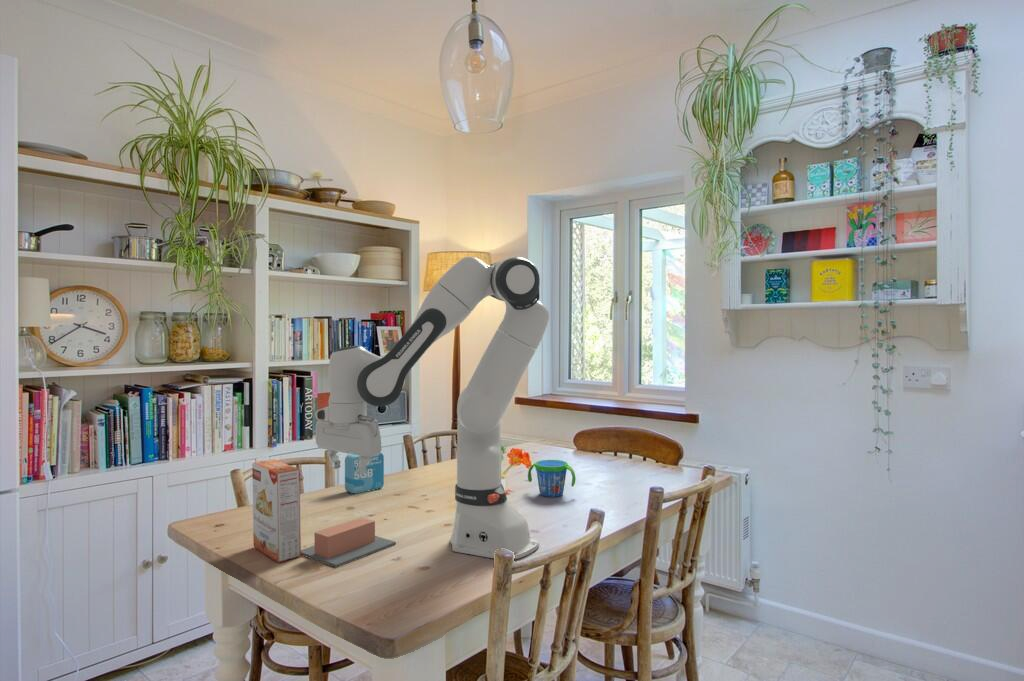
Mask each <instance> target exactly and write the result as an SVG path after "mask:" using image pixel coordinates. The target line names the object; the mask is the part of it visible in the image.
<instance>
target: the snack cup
mask: <svg viewBox="0 0 1024 681" xmlns="http://www.w3.org/2000/svg"><path fill="white" fill-rule="evenodd" d="M533 468H535V471H536V477H537V482H538V483H537V484H538V485H537V486H538V490H539V493H540V495H542V496H543V497H549V498H550V497H551V498H552V497H553V498H555V497H560V496H563V494H564V489H565V484H566V476H567V470H568V471H569V472H570V473H571V477H572V478H571V487H575V484H576V480H577V478H576V474H575V471H574V469H573V468H572V467H571V466H570V465H569V464H568V462H567V461H565V460H560V459H559V460H558V459H542V460H538V461H536V462H535V463H533V464H531V465H530V467H529V469H528V472H527V480H528V482H529V483H531V482H532V481H533V479H532V470H533Z"/></svg>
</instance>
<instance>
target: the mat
mask: <svg viewBox="0 0 1024 681" xmlns="http://www.w3.org/2000/svg"><path fill="white" fill-rule="evenodd" d="M392 545H393V546H395V545H397V542H396V541H394V540H391V539H389V538H388V539H387V538H383V537H380V536H376V535H375V541H374V542H372V543H369V544H366V545H364V546H361V547H358V548H355V549H353V550H350V551H347V552H345V553H342V554H339V555H337V556H334V557H331V558H329V559H328V558H325V557H322V556H319V555H317V554H315V545H311V546H310V547H305V548H304V549H303V548H302V549H301V556H303V555H304V556H303V557H306V556H307V557H306V558H309V557H310V558H309V559H311V558H313V559H312V560H314V559H316V560H315V561H317V560H318V562H320V561H321V563H322V562H324V563H323V564H325V563H327V564H326V565H328V564H329V566H331V565H332V567H334V566H335V567H334V568H339V567H341V566H344V565H345V563H346V564H349V563H351V562H350V561H352V562H354V561H356V560H355V559H357V560H359V559H362V558H364V557H366V555H367V556H369V555H368V554H370V555H372V554H374V553H373V552H375V553H377V552H379V550H380V551H382V550H385V549H387V547H388V548H390V547H392ZM384 548H385V549H384ZM376 551H377V552H376ZM371 553H372V554H371ZM363 556H364V557H363ZM361 557H362V558H361ZM358 558H359V559H358ZM353 560H354V561H353ZM348 562H349V563H348ZM343 564H344V565H343ZM340 565H341V566H340ZM338 566H339V567H338Z"/></svg>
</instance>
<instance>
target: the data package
mask: <svg viewBox="0 0 1024 681" xmlns="http://www.w3.org/2000/svg"><path fill="white" fill-rule="evenodd" d="M360 461H361V460H359V455H354V454H348V455H346V456H345V459H344V490H345V491H346V492H348V493H351V494H353V493H358V494H360V493H359V492H363V493H365V492H364V491H367V492H369V491H368V490H372V491H374V490H373V489H377V488H381V489H382V488H383V487H384V485H385V475H384V474H385V473H384V471H385V468H384V466H385V463H384V461H385V455H384V454H383V453H382V452H381V453H380V454H379V455H377V456H373V457H370V460H369V462H368V464H367V466H366V473H365V474H358V473H357V472H356V471H357V469H356V466H359V464H360ZM377 490H378V489H377Z"/></svg>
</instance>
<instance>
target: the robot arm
mask: <svg viewBox="0 0 1024 681" xmlns="http://www.w3.org/2000/svg"><path fill="white" fill-rule="evenodd" d="M540 279H541V278H540V274H539V271H538V269H537V267H536V265H535V264H534V263H533V262H531V261H530V260H528V259H527V258H525V257H520V256H514V257H507V258H504V259H502V260H499V261H497V262H494V263H492V264H486V263H485V262H484V261H483V260H481V259H479V258H478V257H474V256H465V257H462V258H461V259H460V260H458V261H457V262H456V263H455V264H454V265H452V266H451V267H450V268H449V269H448V270H447V271H445V273H444V274H443V275H442V276H441V277H440V279H438V280H437V281H436V283H435V284H434V285H433V287H432V288H431V289H430V291H429V292H428V293H427V295H426V297H425V298H424V300H423V301H422V303H421V305H420V307H419V310H418V312H417V314H416V315H415V318H414V320H413V322H412V324H410V327H409V328H408V329H407V331H406V332H405V333H404V334H403V335H402V336H401V338H399V340H398V341H397V342H396V343H395V344H394V345H393V347H392V348H391V349H390V350H389V351H388V352H386V354H385V355H384V356H383V357H382V356H379V355H377V354H374V353H373V352H371V351H369V350H367V349H366V348H364V346H362V345H351V346H346V347H342V348H337V349H336V350H334V351H333V352H332V353H331V355H330V358H329V363H328V375H327V377H328V379H327V381H328V382H327V384H328V387H329V393H330V394H329V397H328V406H326V407H322V408H320V409H317V410H315V412H314V417H315V420H316V422H315V423H316V424H315V444H316V446H317V448H318V449H323V450H326V451H327V452H326V453H327V457H328V458H329V461H330V468H331V469H336V470H337V469H339V468H341V460H339V457H338V455H337V454H338V453H345V454H348V455H351V454H354V455H359V460H361V461H360V464H359V466H356V469H357V471H356V472H357V473H358V474H365V473H366V466H367V464H368V462H369V460H370V457H373V456H377V455H379V454H380V453H382V439H381V438H382V437H381V429H380V427H379V422H378V421H377V420H376V419H375V417H374V416H373V415H372V416H371V415H369V416H367V411H368V410H367V409H368V408H367V404H369V405H371V406H374V407H386V406H389V405H392V404H393V403H395V402H396V401H397V399H398V398H399V397H400V395H401V393H402V390H403V388H404V386H405V385H406V384H405V383H406V377H407V376H408V374H409V372H410V371H411V370H412V368H413V367H414V366H415V365H416V364H417V362H418V361H419V360H420V359H421V358H422V356H423V355H424V354H425V353H426V351H427V350H428V349H429V348H430V347H431V346H432V345H433V344H434V343H436V342H437V341H438V340H439V339H441V338H442V337H444V336H446V335H447V334H449V333H450V332H451V331H454V329H456V328H457V327H458V326H460V324H462V323H463V322H464V321H465V320H467V317H468V316H470V314H471V313H472V312H473V311H474V309H475V308H476V307H477V305H478V304H479V303H480V302H482V301H483V299H486V298H487V297H491V298H494V299H496V300H499V301H502V302H505V303H504V304H505V313H504V316H503V319H502V320H501V323H500V324H499V325H498V328H497V330H496V331H495V333H494V334H493V337H492V339H491V340H490V342H489V344H488V346H487V347H486V349H485V351H484V352H483V355H482V356H481V358H480V360H479V362H478V365H477V366H476V368H475V370H474V372H473V374H472V376H471V378H470V380H469V382H468V384H467V385H466V387H465V388H464V389H463V390H462V391H461V393H460V394H459V396H458V399H457V404H456V405H457V406H456V407H457V408H456V414H457V415H456V416H457V423H456V425H457V428H456V429H457V434H456V436H457V437H456V438H457V439H456V444H457V445H456V484H455V486H454V500H455V501H456V502H455V504H456V505H455V507H456V508H455V517H454V522H453V528H452V533H451V537H450V544H451V545H452V546H451V551H452V552H454V553H455V552H456V553H461V554H468V555H472V556H477V557H484V558H490V559H494V553H495V551H496V550H497V549H501V548H505V549H508V550H510V551H512V552H514V555H515V559H514V560H517V559H521V558H524V557H525V556H528V555H530V554H532V553H533V552H535V551H536V550H537V549H538V548H539V546H540V544H539V543H540V542H539V540H538V539H535V538H533V537H530V536H531V535H530V529H529V523H528V521H527V519H526V517H524V516H523V515H522V514H521V513H520V512H519V511H518V510H517V509H516V508H514V506H513V505H512V504H511V503H510V502H509V501H508V500H507V499H508V498H507V495H511V492H510V491H511V489H507V490H505V489H504V485H503V483H502V447H501V446H502V442H501V440H502V439H501V420H502V418H503V416H504V415H505V413H506V410H507V409H508V406H509V404H510V402H511V400H512V398H513V396H514V394H515V391H516V389H517V387H518V385H519V383H520V381H521V379H522V376H523V375H524V373H525V371H526V369H527V367H528V366H529V364H530V362H531V360H532V358H533V357H534V354H535V353H536V352H537V349H538V347H539V345H540V344H541V341H542V339H543V336H544V335H545V331H546V329H547V326H548V324H549V319H550V313H549V310H548V308H547V307H546V306H545V304H543V303H542V302H541V301H540Z"/></svg>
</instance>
